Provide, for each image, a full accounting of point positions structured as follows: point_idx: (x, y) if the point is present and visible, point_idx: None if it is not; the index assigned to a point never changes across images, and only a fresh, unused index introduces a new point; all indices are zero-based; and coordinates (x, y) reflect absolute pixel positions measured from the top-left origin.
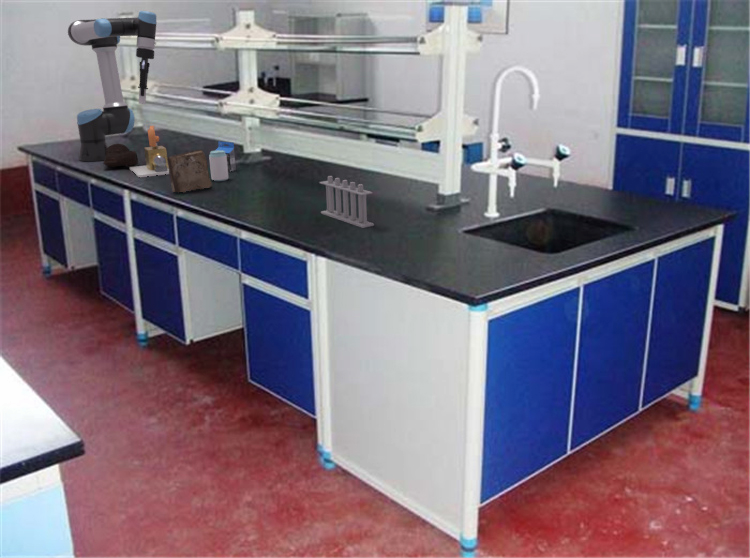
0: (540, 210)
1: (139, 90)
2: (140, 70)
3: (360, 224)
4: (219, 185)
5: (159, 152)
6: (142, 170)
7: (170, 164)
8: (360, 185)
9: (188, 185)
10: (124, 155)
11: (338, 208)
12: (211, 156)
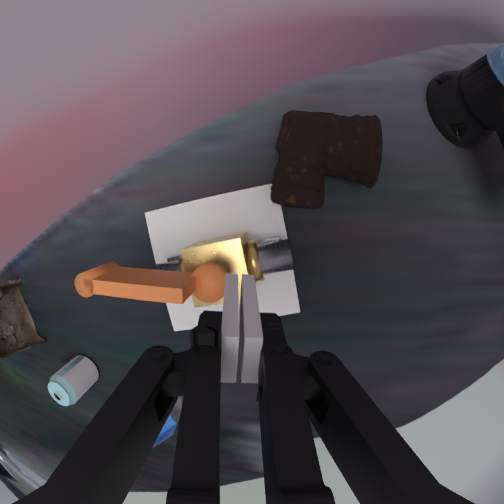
0: (12, 476)
1: (222, 324)
2: (54, 474)
3: None
4: (52, 354)
5: None
6: (206, 220)
7: None
8: None
9: (17, 306)
10: (284, 169)
11: None
12: (51, 377)
